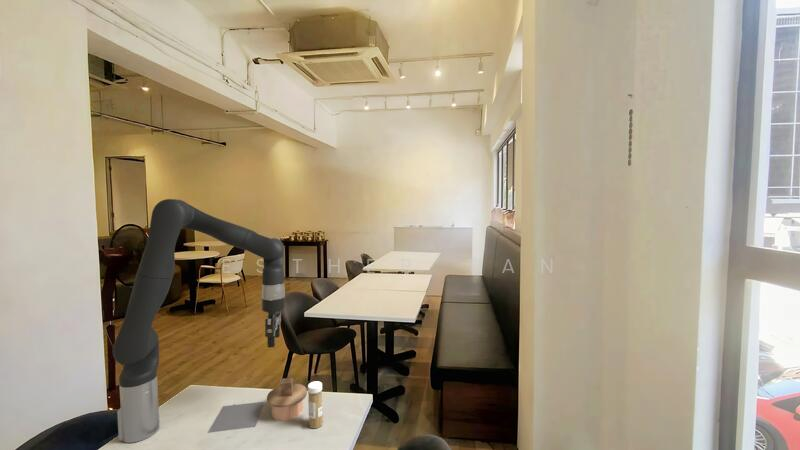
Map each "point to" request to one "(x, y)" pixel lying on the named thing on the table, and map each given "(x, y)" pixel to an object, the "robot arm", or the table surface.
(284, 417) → the terracotta bowl
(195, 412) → the table surface
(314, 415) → the sprinkles bottle
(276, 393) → the walnut lid
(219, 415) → the charcoal mat
